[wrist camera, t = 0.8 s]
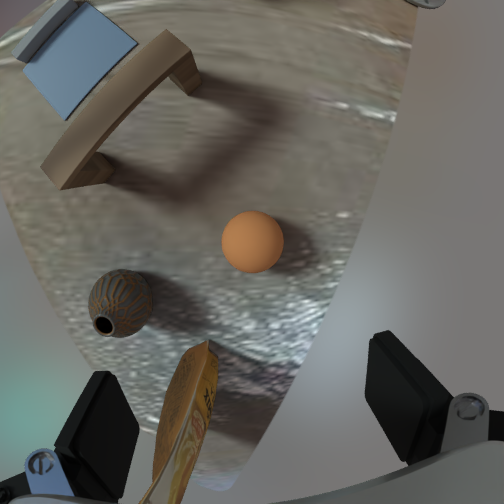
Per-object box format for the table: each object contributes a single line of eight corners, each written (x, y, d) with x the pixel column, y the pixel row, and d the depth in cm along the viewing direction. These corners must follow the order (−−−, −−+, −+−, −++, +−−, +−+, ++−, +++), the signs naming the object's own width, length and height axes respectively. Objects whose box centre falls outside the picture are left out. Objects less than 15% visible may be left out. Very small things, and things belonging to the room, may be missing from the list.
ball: (252, 195, 31) (257, 201, 25) (289, 236, 33) (302, 250, 27) (210, 234, 32) (206, 249, 26) (249, 273, 33) (253, 294, 28)
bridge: (88, 165, 29) (40, 166, 19) (183, 66, 27) (166, 29, 17) (104, 183, 30) (59, 190, 20) (202, 83, 28) (190, 49, 18)
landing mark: (86, 2, 23) (85, 1, 22) (137, 43, 25) (137, 43, 25) (23, 71, 24) (22, 70, 24) (65, 120, 27) (64, 120, 27)
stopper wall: (72, 1, 22) (64, -7, 20) (79, 6, 23) (71, -2, 20) (21, 56, 24) (11, 52, 21) (26, 63, 24) (16, 59, 22)
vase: (112, 252, 32) (78, 279, 23) (166, 276, 33) (146, 311, 24) (99, 302, 33) (68, 337, 25) (149, 325, 34) (129, 367, 26)
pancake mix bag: (155, 421, 39) (123, 583, 12) (175, 320, 34) (111, 554, 7) (198, 431, 40) (189, 595, 13) (230, 334, 35) (237, 575, 8)
